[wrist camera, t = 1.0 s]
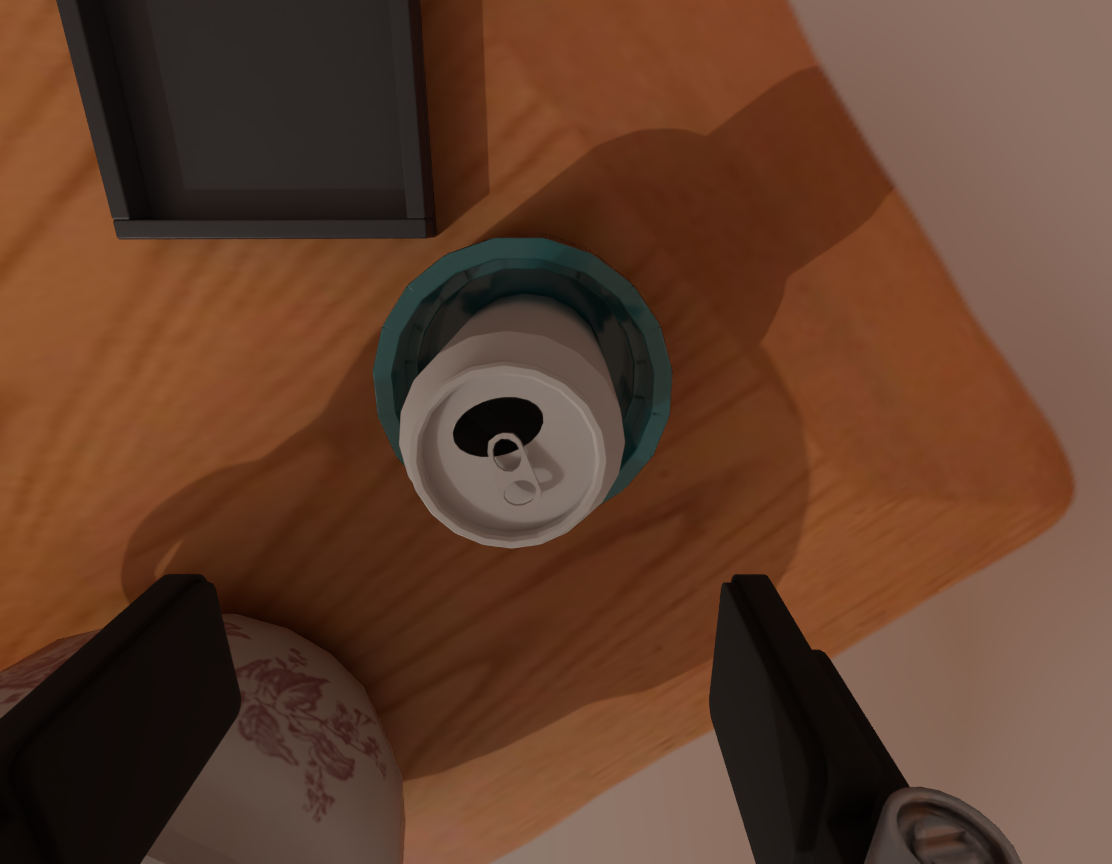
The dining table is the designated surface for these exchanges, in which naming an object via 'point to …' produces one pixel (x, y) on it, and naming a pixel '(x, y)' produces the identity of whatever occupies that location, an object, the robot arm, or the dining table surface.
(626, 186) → the dining table surface
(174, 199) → the tray
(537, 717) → the dining table surface
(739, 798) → the robot arm
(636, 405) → the bowl
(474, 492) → the can
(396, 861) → the chamber pot
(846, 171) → the dining table surface
